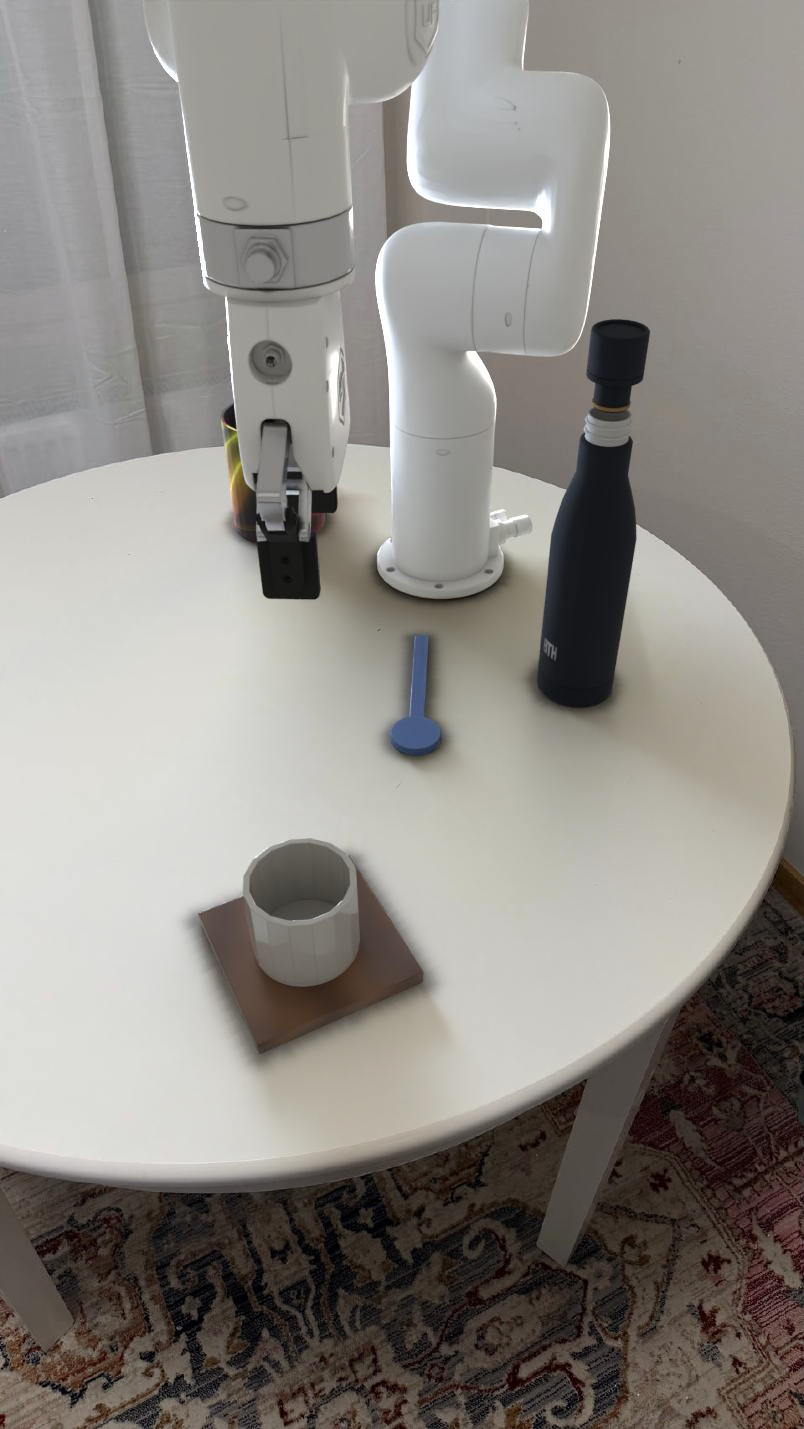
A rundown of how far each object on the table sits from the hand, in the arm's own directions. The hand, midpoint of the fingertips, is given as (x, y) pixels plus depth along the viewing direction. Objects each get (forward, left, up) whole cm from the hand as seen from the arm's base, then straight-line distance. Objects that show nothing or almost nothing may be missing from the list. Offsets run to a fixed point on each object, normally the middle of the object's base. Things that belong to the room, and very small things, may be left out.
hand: (303, 551), depth 60 cm
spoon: (-13, -9, -22) cm, 27 cm away
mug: (-14, -44, -22) cm, 51 cm away
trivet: (+6, +11, -22) cm, 26 cm away
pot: (+6, +11, -21) cm, 25 cm away
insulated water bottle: (-25, -4, -22) cm, 34 cm away
